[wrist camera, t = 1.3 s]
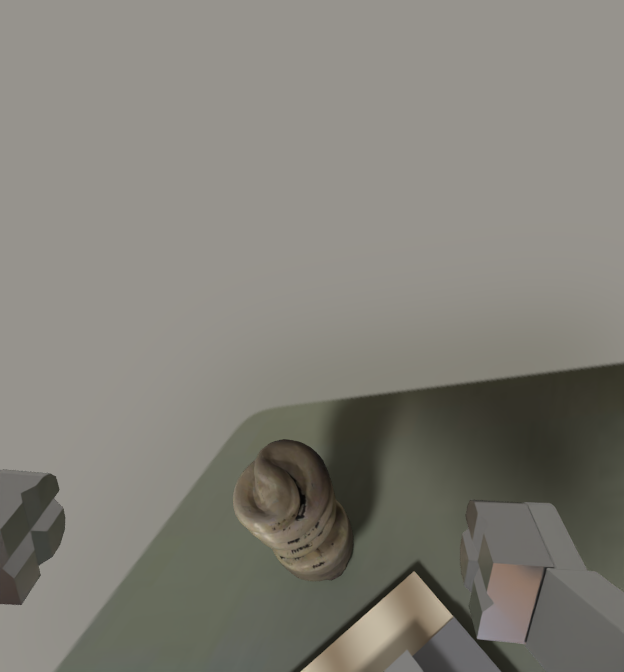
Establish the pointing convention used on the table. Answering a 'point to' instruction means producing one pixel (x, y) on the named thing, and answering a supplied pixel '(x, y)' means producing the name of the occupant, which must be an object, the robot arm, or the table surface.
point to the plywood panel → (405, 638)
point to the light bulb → (295, 510)
